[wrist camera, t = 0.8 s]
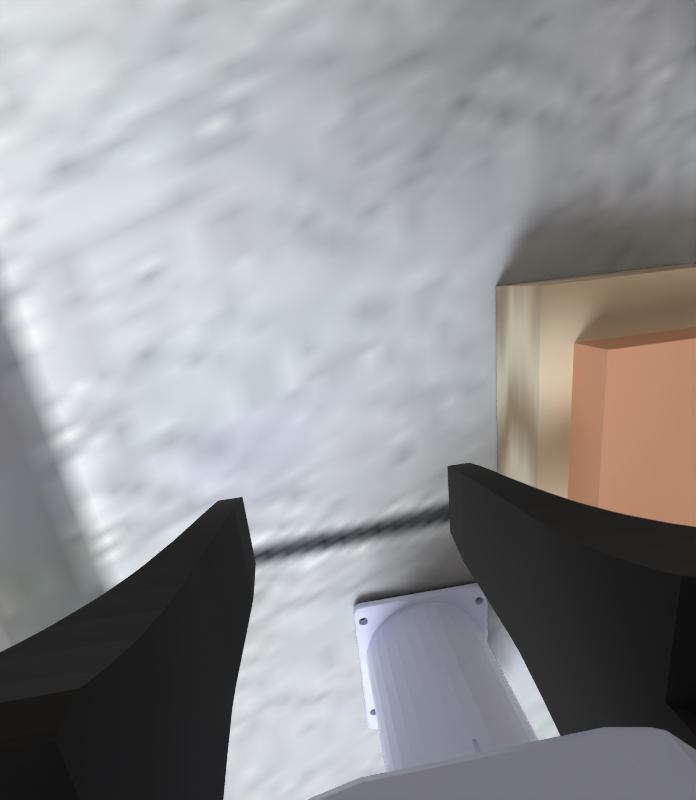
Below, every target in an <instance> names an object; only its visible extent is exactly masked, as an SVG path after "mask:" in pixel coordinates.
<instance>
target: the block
mask: <svg viewBox="0 0 696 800" xmlns="http://www.w3.org/2000/svg"><path fill="white" fill-rule="evenodd" d="M568 499H569V500H573V501H576V502H579V503H583V504H586V505H590V506H594V507H598V508H601V509H605V510H609V511H613V512H617V513H621V514H626V515H631V516H635V517H641V518H646V519H651V520H657V521H662V522H667V523H673V524H680V525H687V526H693V527H696V327H693V328H686V329H678V330H670V331H663V332H655V333H647V334H640V335H632V336H624V337H617V338H609V339H601V340H594V341H586V342H578V343H574V353H573V378H572V402H571V427H570V452H569V476H568Z"/></svg>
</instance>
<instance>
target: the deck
mask: <svg viewBox="0 0 696 800" xmlns="http://www.w3.org/2000/svg"><path fill="white" fill-rule="evenodd" d="M693 327H696V263H692V264H680V265H671V266H662V267H654V268H645V269H637V270H628V271H620V272H611V273H603V274H594V275H586V276H577V277H569V278H560V279H552V280H543V281H534V282H526V283H517V284H509V285H500V286H496V362H497V455H498V473H499V474H502V475H504V476H507V477H509V478H512V479H514V480H517V481H519V482H522V483H524V484H527V485H530V486H532V487H535V488H538V489H540V490H543V491H546V492H549V493H552V494H555V495H557V496H560V497H563V498H566V499H568V476H569V452H570V427H571V402H572V378H573V353H574V343H578V342H586V341H594V340H601V339H609V338H617V337H624V336H632V335H640V334H647V333H655V332H663V331H670V330H678V329H686V328H693Z"/></svg>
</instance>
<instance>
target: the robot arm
mask: <svg viewBox="0 0 696 800" xmlns="http://www.w3.org/2000/svg"><path fill="white" fill-rule="evenodd" d="M448 486H449V508H450V529H451V534H452V536H453V538H454V541H455V543H456V545H457V547H458V550H459V552H460V554H461V556H462V558H463V560H464V563H465V564H466V566H467V568H468V569H469V571H470V573H471V574H472V576H473V577H474V579H475V581H476V582H477V583H473V584H467V585H462V586H456V587H450V588H444V589H439V590H433V591H427V592H421V593H416V594H410V595H404V596H398V597H393V598H387V599H381V600H375V601H370V602H364V603H360V604H357V605H356V606H355V607H354V610H353V613H354V621H355V629H356V636H357V644H358V652H359V660H360V668H361V675H362V683H363V691H364V699H365V707H366V714H367V722H368V726H369V727H370V728H371V729H379V734H380V740H381V746H382V751H383V757H384V763H385V768H386V772H385V773H380V774H376V775H371V776H366V777H361V778H358V779H356V780H353V781H351V782H349V783H346V784H344V785H341V786H339V787H336V788H334V789H332V790H329V791H327V792H324V793H322V794H319V795H317V796H315V797H312V798H310V799H308V800H696V527H693V526H687V525H680V524H673V523H667V522H662V521H657V520H651V519H646V518H641V517H635V516H631V515H626V514H621V513H617V512H613V511H609V510H605V509H601V508H598V507H594V506H590V505H586V504H583V503H579V502H576V501H573V500H569V499H566V498H563V497H560V496H557V495H555V494H552V493H549V492H546V491H543V490H540V489H538V488H535V487H532V486H530V485H527V484H524V483H522V482H519V481H517V480H514V479H512V478H509V477H507V476H504V475H502V474H499V473H497V472H494V471H492V470H489V469H487V468H484V467H481V466H478V465H475V464H472V463H465V464H459V465H452V466H448ZM255 565H256V563H255V558H254V553H253V548H252V543H251V538H250V533H249V528H248V523H247V518H246V513H245V508H244V503H243V498H242V497H240V498H233V499H226V500H220V501H218V502H216V503H215V504H214V505H213V506H212V507H210V508H209V509H208V510H207V511H206V512H205V513H204V514H203V515H202V516H200V517H199V518H198V519H197V520H196V521H195V522H194V523H193V524H192V525H191V526H190V527H188V528H187V529H186V530H185V531H184V532H183V533H182V534H181V535H180V536H178V537H177V538H176V539H175V540H174V541H173V542H172V543H170V544H169V545H168V546H167V547H166V548H164V549H163V550H162V551H161V552H160V553H158V554H157V555H156V556H155V557H153V558H152V559H151V560H150V561H149V562H147V563H146V564H145V565H144V566H142V567H141V568H140V569H139V570H137V571H136V572H135V573H133V574H132V575H130V576H129V577H128V578H126V579H125V580H123V581H122V582H121V583H119V584H118V585H116V586H115V587H113V588H112V589H110V590H109V591H107V592H106V593H105V594H103V595H101V596H100V597H98V598H97V599H95V600H94V601H92V602H90V603H89V604H87V605H85V606H84V607H82V608H80V609H79V610H77V611H75V612H73V613H72V614H70V615H68V616H67V617H65V618H63V619H62V620H60V621H58V622H57V623H55V624H53V625H52V626H50V627H48V628H46V629H44V630H43V631H41V632H39V633H37V634H35V635H33V636H31V637H29V638H27V639H26V640H24V641H22V642H20V643H18V644H16V645H14V646H12V647H10V648H8V649H6V650H4V651H2V652H0V800H223V796H224V785H225V774H226V763H227V753H228V743H229V734H230V724H231V715H232V706H233V700H234V694H235V687H236V682H237V677H238V672H239V667H240V663H241V658H242V653H243V648H244V643H245V638H246V633H247V628H248V623H249V618H250V613H251V608H252V603H253V595H254V582H255ZM479 597H480V598H479ZM477 598H479V599H478V600H476V599H477ZM487 600H488V601H489V603H490V604H491V606H492V608H493V609H494V611H495V612H496V614H497V616H498V617H499V619H500V620H501V622H502V623H503V625H504V627H505V628H506V630H507V631H508V633H509V635H510V636H511V638H512V640H513V641H514V643H515V645H516V647H517V648H518V650H519V652H520V654H521V656H522V658H523V660H524V662H525V664H526V666H527V668H528V670H529V672H530V674H531V676H532V678H533V680H534V682H535V684H536V686H537V688H538V690H539V692H540V694H541V696H542V698H543V700H544V702H545V704H546V706H547V708H548V710H549V712H550V715H551V717H552V719H553V721H554V723H555V725H556V727H557V729H558V731H559V733H560V736H559V737H554V738H549V739H544V740H540V741H539V740H538V738H537V736H536V734H535V733H534V731H533V729H532V727H531V725H530V723H529V721H528V719H527V717H526V715H525V714H524V712H523V710H522V708H521V706H520V704H519V702H518V700H517V698H516V696H515V695H514V693H513V691H512V689H511V687H510V685H509V683H508V681H507V679H506V677H505V676H504V674H503V672H502V670H501V668H500V666H499V664H498V662H497V660H496V658H495V657H494V655H493V653H492V651H491V649H490V647H489V645H488V618H487ZM361 618H366V619H364V620H360V619H361Z"/></svg>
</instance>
